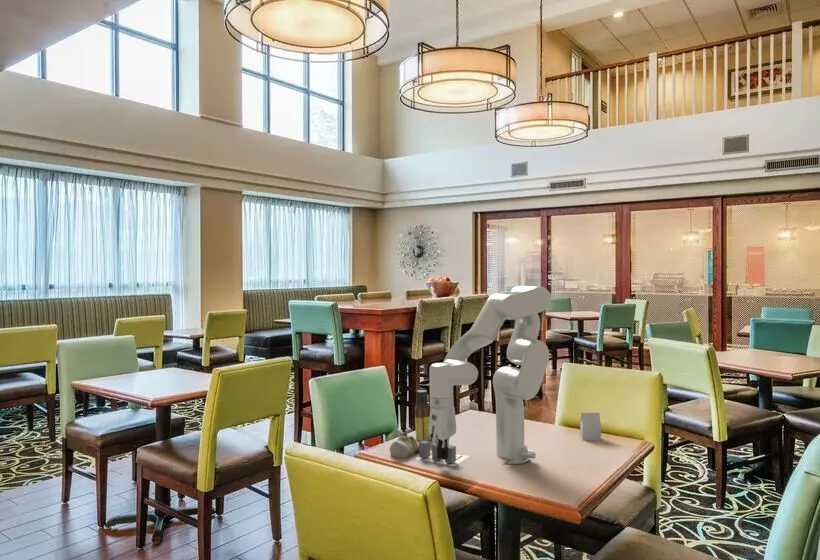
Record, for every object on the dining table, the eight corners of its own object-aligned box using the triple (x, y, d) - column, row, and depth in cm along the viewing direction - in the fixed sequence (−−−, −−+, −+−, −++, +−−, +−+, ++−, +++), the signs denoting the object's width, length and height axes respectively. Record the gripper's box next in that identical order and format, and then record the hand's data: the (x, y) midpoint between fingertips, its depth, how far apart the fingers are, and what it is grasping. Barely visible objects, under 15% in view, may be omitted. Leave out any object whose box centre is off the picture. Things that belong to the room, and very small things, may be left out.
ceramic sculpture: (382, 435, 195) (403, 426, 208) (381, 460, 194) (402, 450, 208) (409, 439, 190) (429, 430, 203) (408, 465, 189) (428, 455, 202)
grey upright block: (600, 440, 214) (600, 413, 214) (582, 440, 215) (582, 413, 215) (598, 437, 218) (597, 411, 218) (580, 437, 218) (580, 411, 218)
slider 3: (456, 461, 187) (455, 446, 187) (451, 463, 185) (451, 448, 185) (449, 459, 189) (449, 444, 189) (445, 462, 186) (445, 447, 186)
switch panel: (469, 460, 193) (469, 456, 193) (454, 470, 184) (453, 466, 184) (432, 453, 201) (432, 449, 201) (415, 462, 192) (414, 458, 192)
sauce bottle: (433, 440, 217) (432, 388, 216) (432, 445, 210) (431, 392, 210) (415, 440, 217) (415, 388, 217) (414, 445, 211) (413, 392, 211)
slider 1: (430, 456, 193) (429, 441, 193) (425, 458, 190) (425, 443, 190) (424, 454, 194) (423, 440, 194) (419, 457, 192) (419, 442, 192)
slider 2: (442, 458, 190) (442, 443, 190) (438, 461, 188) (438, 446, 188) (436, 457, 192) (436, 442, 191) (432, 459, 189) (431, 444, 189)
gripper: (440, 408, 174) (441, 467, 174) (462, 398, 186) (463, 454, 187) (419, 405, 178) (420, 463, 178) (442, 396, 190) (443, 450, 191)
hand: (442, 458), depth 182 cm, fingers closed
